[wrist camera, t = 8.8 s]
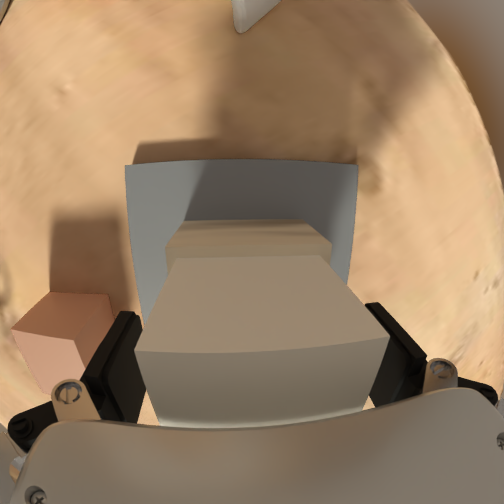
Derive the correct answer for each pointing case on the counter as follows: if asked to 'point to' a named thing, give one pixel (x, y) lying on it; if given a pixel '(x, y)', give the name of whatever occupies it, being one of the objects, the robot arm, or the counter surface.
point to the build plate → (234, 205)
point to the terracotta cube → (62, 335)
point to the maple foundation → (246, 239)
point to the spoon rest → (250, 12)
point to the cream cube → (257, 343)
